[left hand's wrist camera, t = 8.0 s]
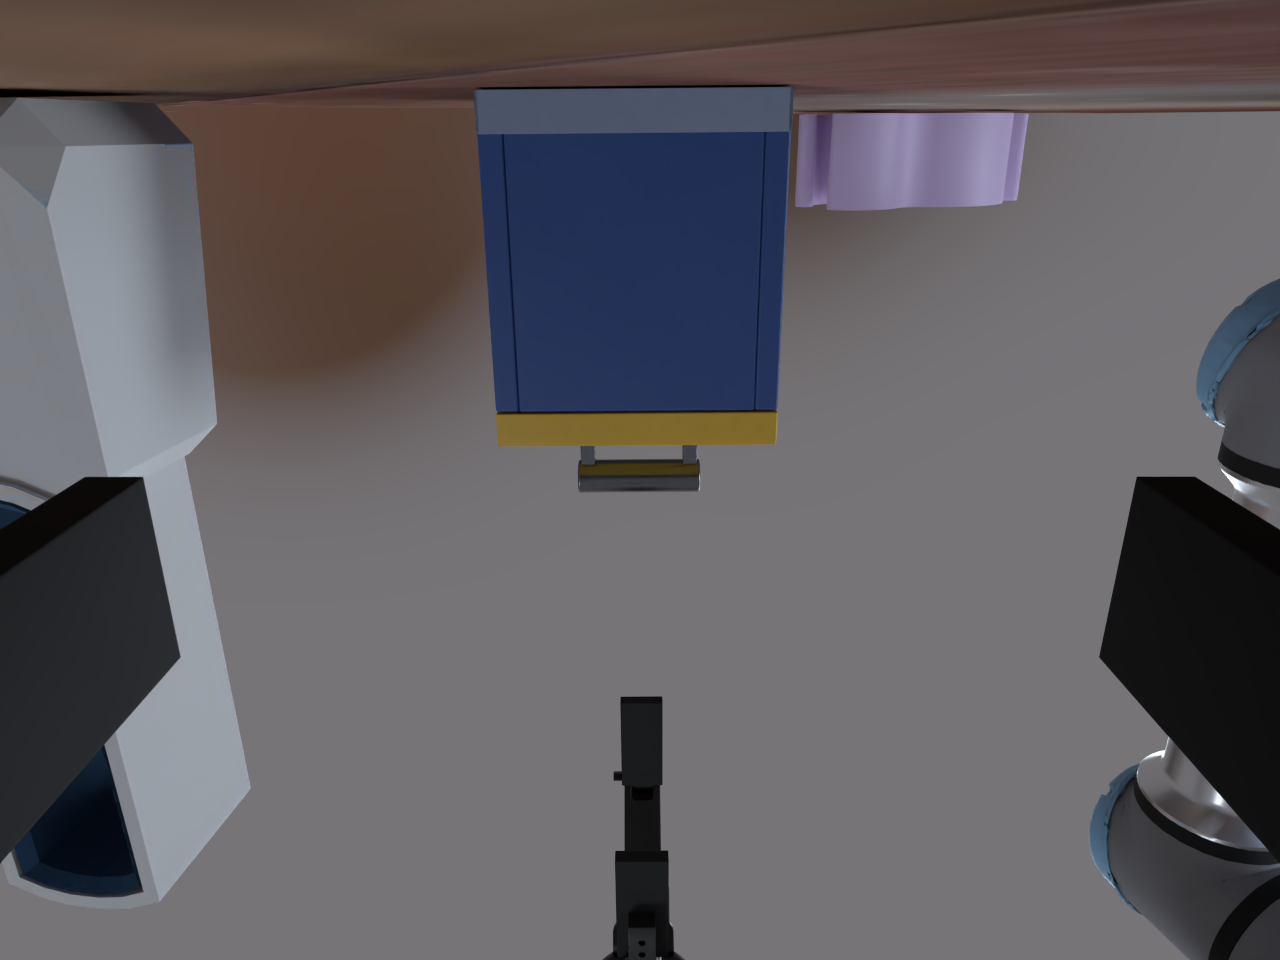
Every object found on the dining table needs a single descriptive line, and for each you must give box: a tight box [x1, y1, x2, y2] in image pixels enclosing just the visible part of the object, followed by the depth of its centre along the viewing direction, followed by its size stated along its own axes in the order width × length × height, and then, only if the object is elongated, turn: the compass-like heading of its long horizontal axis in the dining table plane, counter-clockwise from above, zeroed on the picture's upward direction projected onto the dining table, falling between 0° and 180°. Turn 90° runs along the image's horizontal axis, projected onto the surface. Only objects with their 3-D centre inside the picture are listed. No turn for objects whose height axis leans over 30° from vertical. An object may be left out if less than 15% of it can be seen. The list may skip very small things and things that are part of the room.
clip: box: [795, 113, 1028, 210], centre depth 76 cm, size 20×12×7 cm, turn 59°
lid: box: [496, 407, 778, 492], centre depth 40 cm, size 16×10×8 cm, turn 0°
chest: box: [473, 87, 794, 412], centre depth 36 cm, size 15×10×10 cm, turn 0°
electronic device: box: [0, 98, 251, 909], centre depth 34 cm, size 12×8×30 cm, turn 98°
